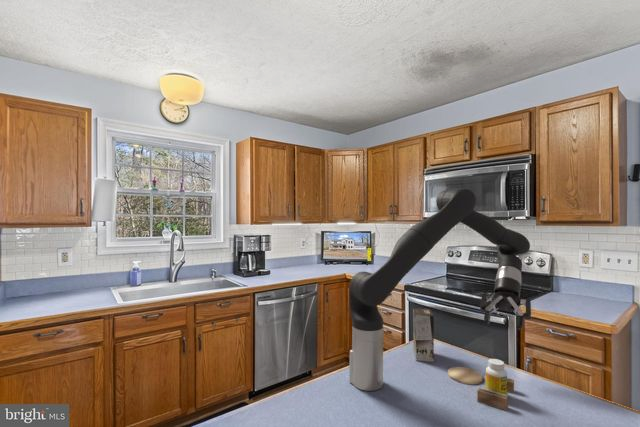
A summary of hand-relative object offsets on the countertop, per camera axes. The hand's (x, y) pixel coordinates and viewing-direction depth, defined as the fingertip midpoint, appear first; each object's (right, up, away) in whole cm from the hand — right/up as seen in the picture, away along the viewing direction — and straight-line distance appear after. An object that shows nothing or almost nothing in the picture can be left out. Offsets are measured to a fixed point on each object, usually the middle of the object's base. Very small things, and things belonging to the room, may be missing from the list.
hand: (502, 325), depth 103 cm
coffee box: (-19, -17, +17) cm, 31 cm away
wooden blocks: (-7, -16, -9) cm, 20 cm away
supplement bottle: (-7, -17, -9) cm, 20 cm away
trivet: (-11, -17, +2) cm, 20 cm away
